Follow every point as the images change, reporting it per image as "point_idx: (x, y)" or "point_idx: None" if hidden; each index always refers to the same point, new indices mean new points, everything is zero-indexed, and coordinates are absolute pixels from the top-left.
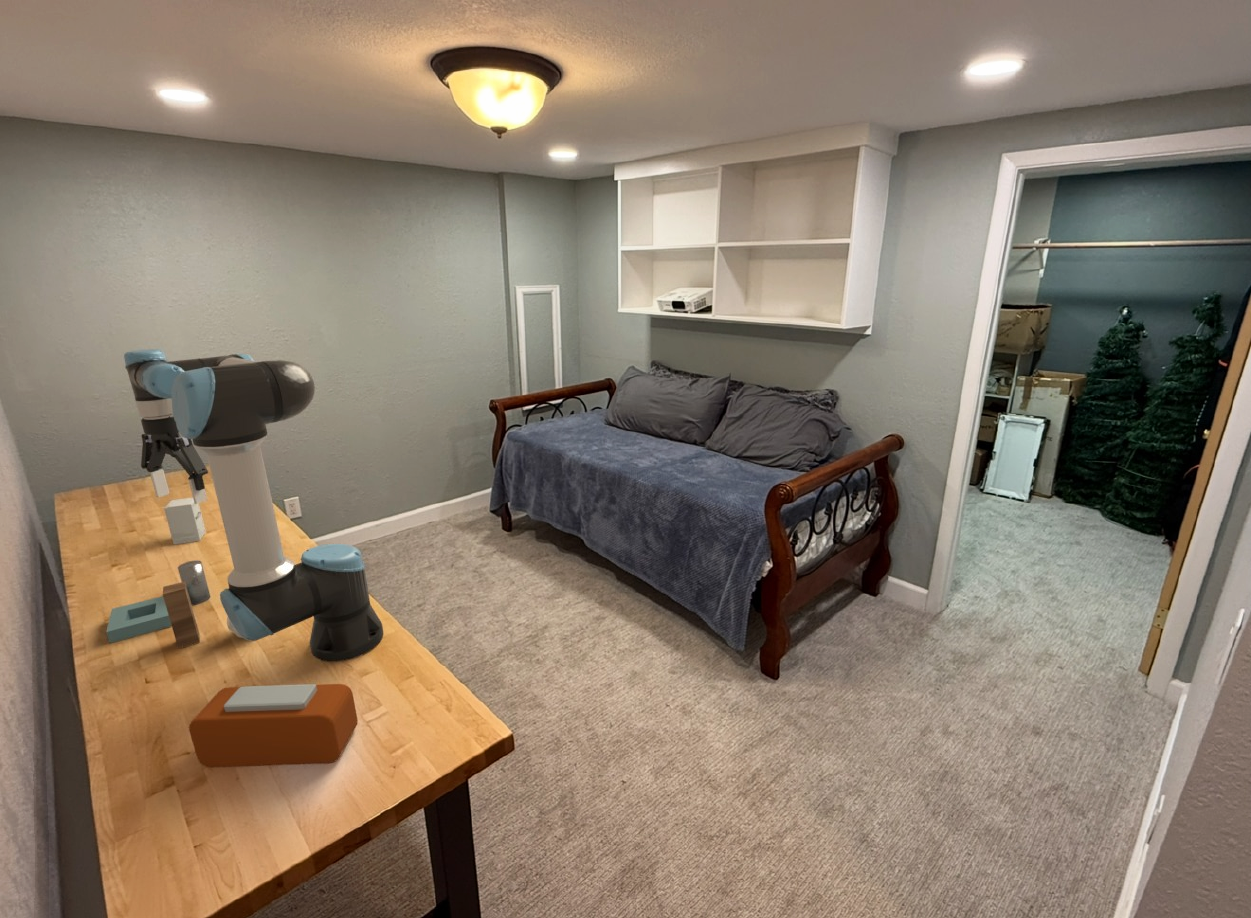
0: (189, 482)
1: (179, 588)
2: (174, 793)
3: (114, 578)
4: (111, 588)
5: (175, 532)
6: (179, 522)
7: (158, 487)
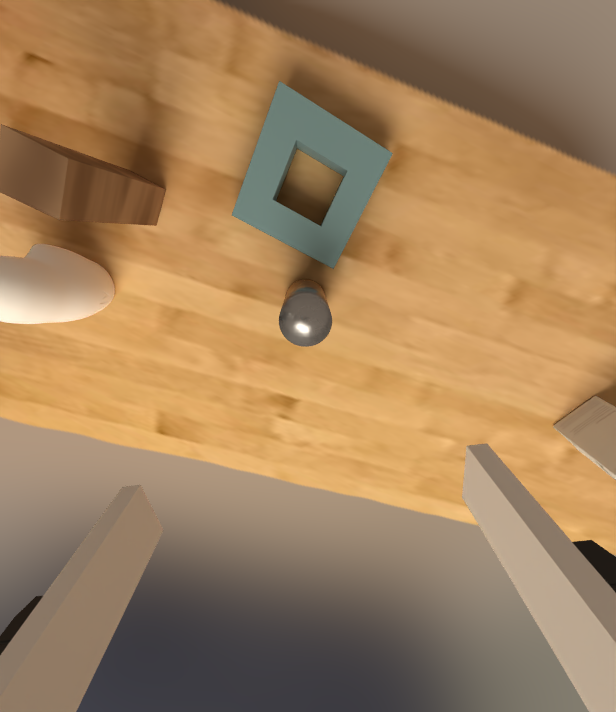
0: (3, 683)
1: (11, 181)
2: None
3: (583, 258)
4: (543, 231)
5: (613, 416)
6: None
7: (506, 515)
